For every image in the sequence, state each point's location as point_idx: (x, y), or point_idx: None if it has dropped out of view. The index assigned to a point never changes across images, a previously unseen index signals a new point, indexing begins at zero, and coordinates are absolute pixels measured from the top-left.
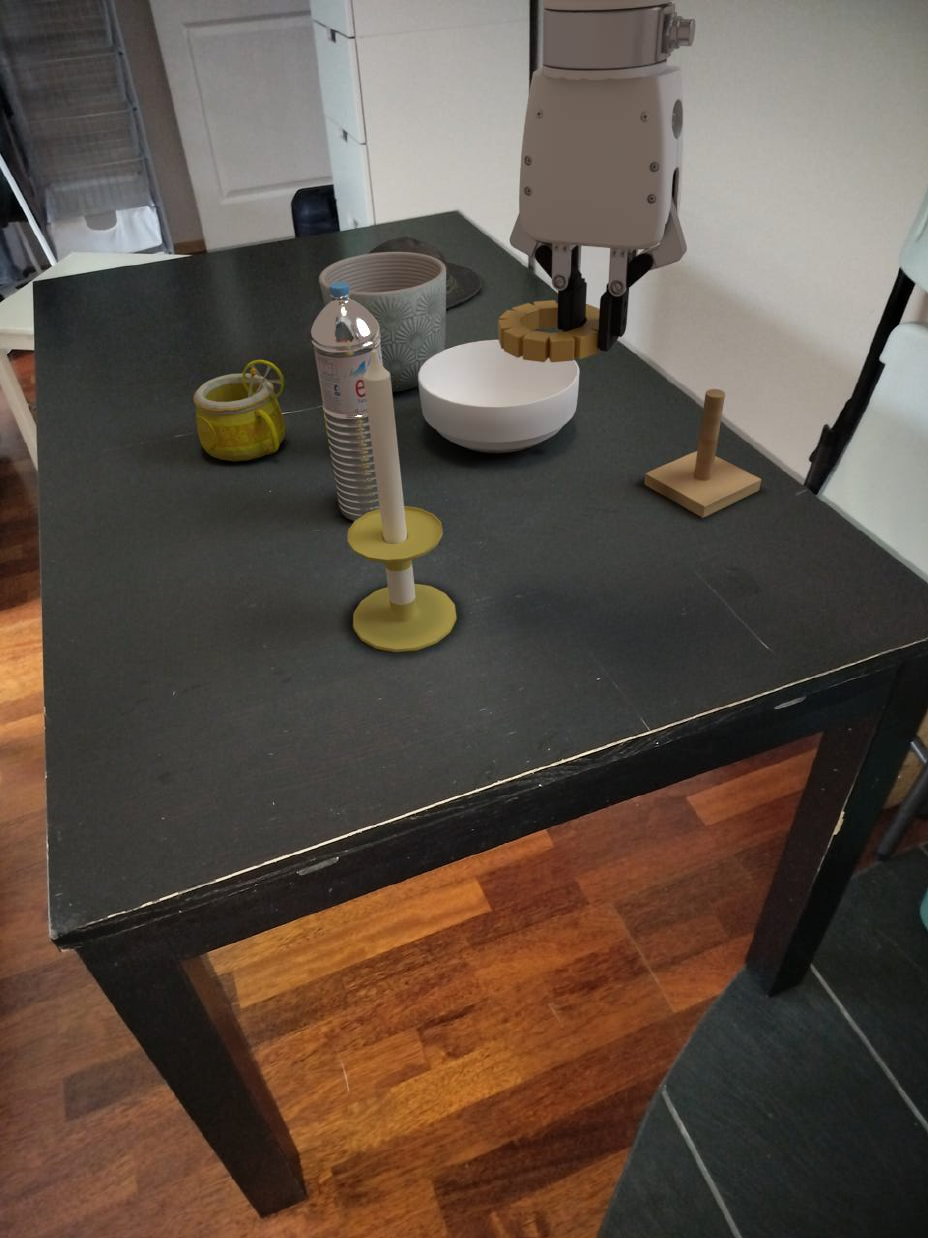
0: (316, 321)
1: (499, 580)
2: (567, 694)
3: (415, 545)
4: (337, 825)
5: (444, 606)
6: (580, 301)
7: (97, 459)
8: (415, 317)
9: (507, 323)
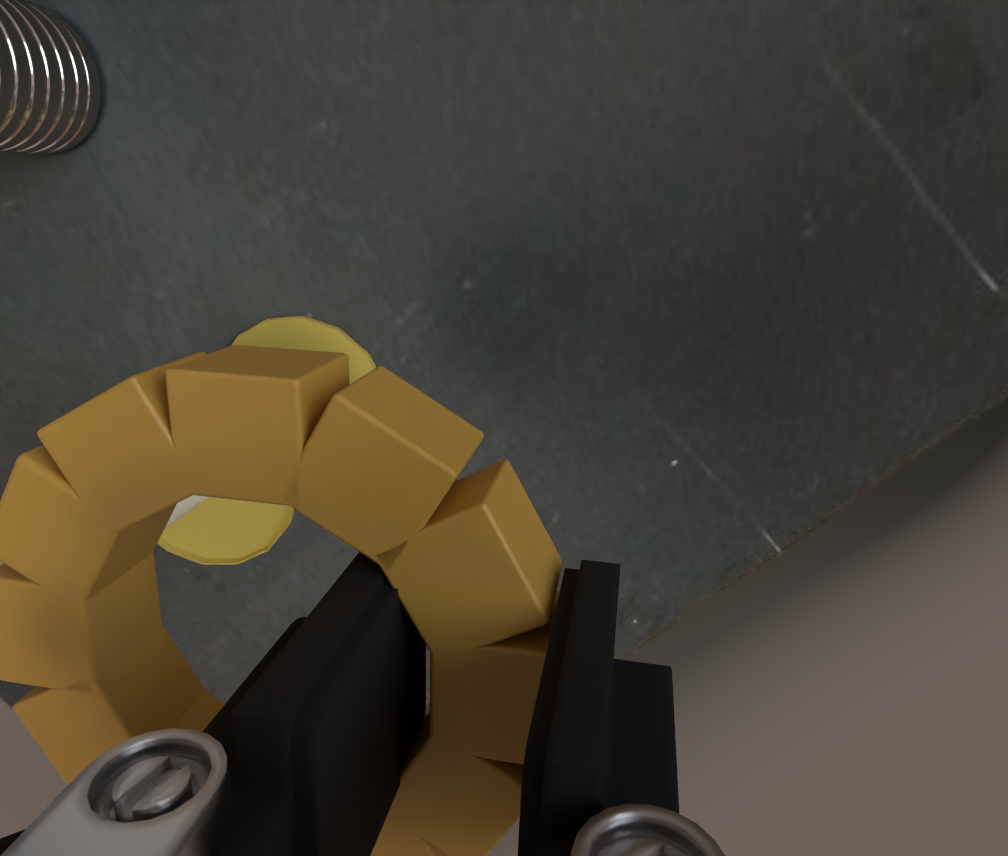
0: None
1: (413, 246)
2: (632, 511)
3: None
4: None
5: (353, 368)
6: (357, 772)
7: None
8: None
9: (73, 746)
